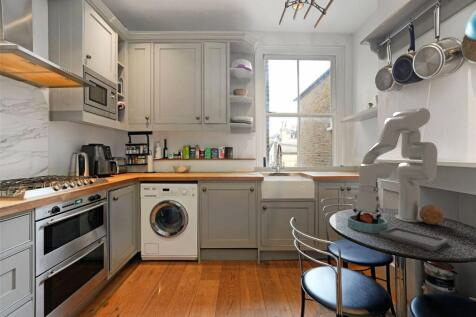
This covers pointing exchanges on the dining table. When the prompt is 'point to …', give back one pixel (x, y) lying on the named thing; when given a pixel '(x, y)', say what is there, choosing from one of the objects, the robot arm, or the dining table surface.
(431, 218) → the onion
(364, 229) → the teal polygonal ring
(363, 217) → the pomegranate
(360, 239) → the dining table surface
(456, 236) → the dining table surface
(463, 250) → the dining table surface
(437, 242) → the tray
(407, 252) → the dining table surface
